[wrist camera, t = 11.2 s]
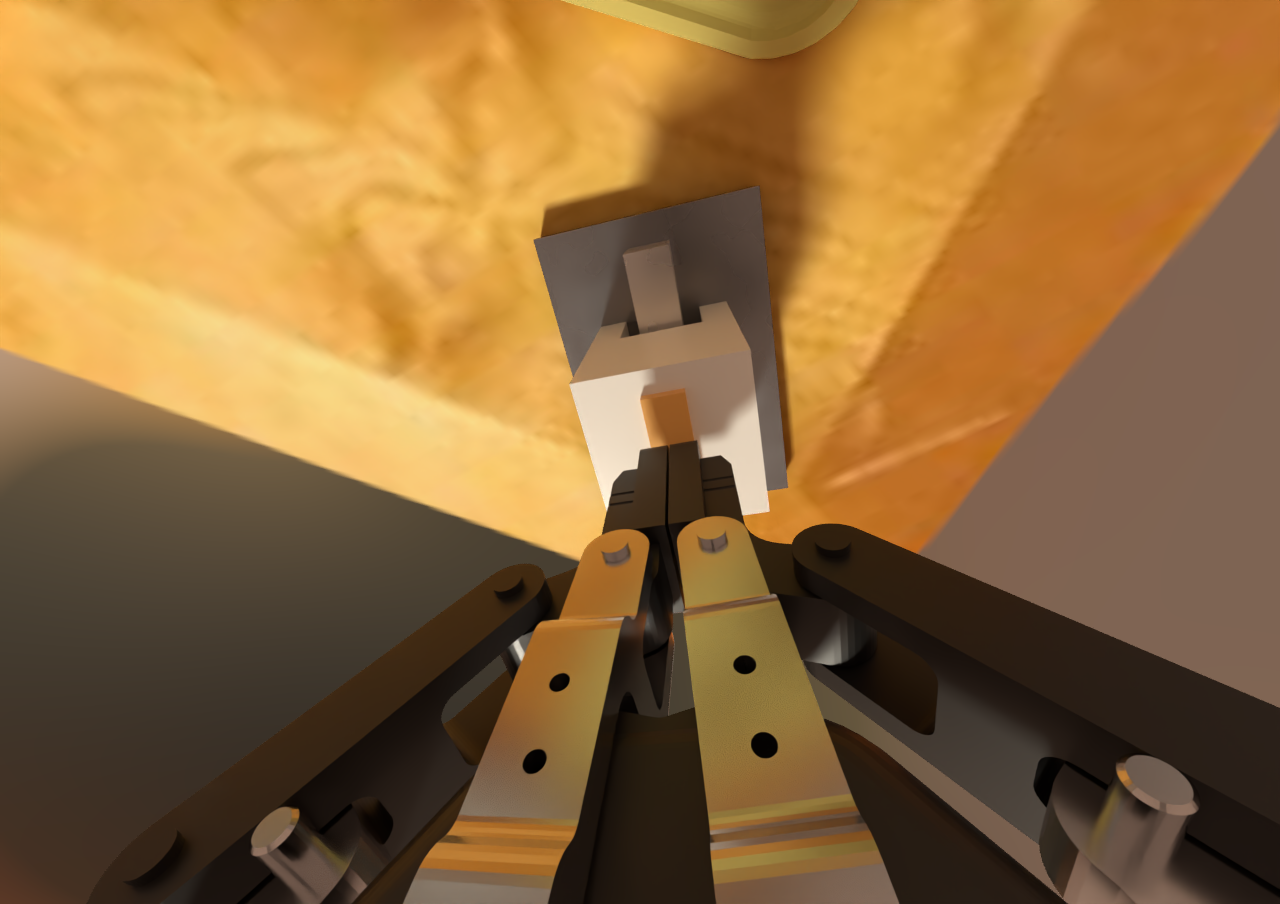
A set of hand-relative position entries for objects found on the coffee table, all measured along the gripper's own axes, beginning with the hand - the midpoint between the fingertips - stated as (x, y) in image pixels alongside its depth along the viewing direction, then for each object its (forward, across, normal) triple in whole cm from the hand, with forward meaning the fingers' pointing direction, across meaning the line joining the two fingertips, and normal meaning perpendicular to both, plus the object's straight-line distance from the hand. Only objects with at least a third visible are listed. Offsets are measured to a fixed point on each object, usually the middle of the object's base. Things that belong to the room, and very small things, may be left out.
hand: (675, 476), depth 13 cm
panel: (+9, 0, 0) cm, 9 cm away
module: (+8, 0, 0) cm, 8 cm away
